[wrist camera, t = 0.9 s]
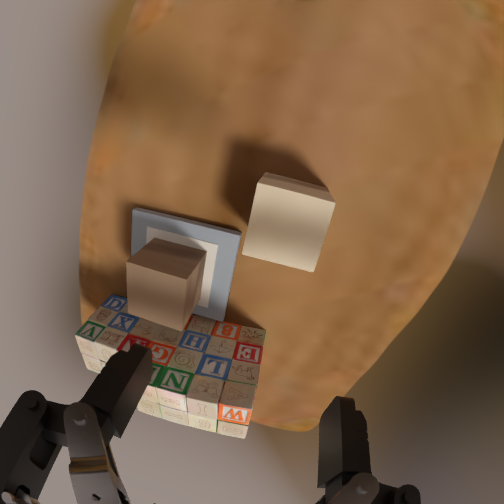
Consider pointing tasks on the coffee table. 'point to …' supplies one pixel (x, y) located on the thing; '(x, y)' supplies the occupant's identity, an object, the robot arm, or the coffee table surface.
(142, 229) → the build board
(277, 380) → the coffee table surface
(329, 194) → the maple block
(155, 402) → the stack of blocks
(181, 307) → the walnut block
